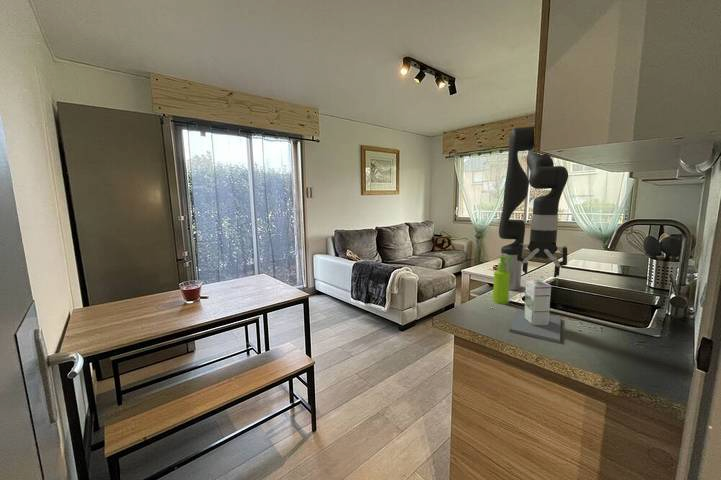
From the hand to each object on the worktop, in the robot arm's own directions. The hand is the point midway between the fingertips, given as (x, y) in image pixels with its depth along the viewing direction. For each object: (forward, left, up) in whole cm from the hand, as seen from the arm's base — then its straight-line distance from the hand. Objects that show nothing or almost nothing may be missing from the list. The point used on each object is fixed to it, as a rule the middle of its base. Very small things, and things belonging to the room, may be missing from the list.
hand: (540, 274), depth 97 cm
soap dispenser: (-18, -14, -19) cm, 29 cm away
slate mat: (0, 0, -18) cm, 18 cm away
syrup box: (0, 0, -18) cm, 18 cm away
